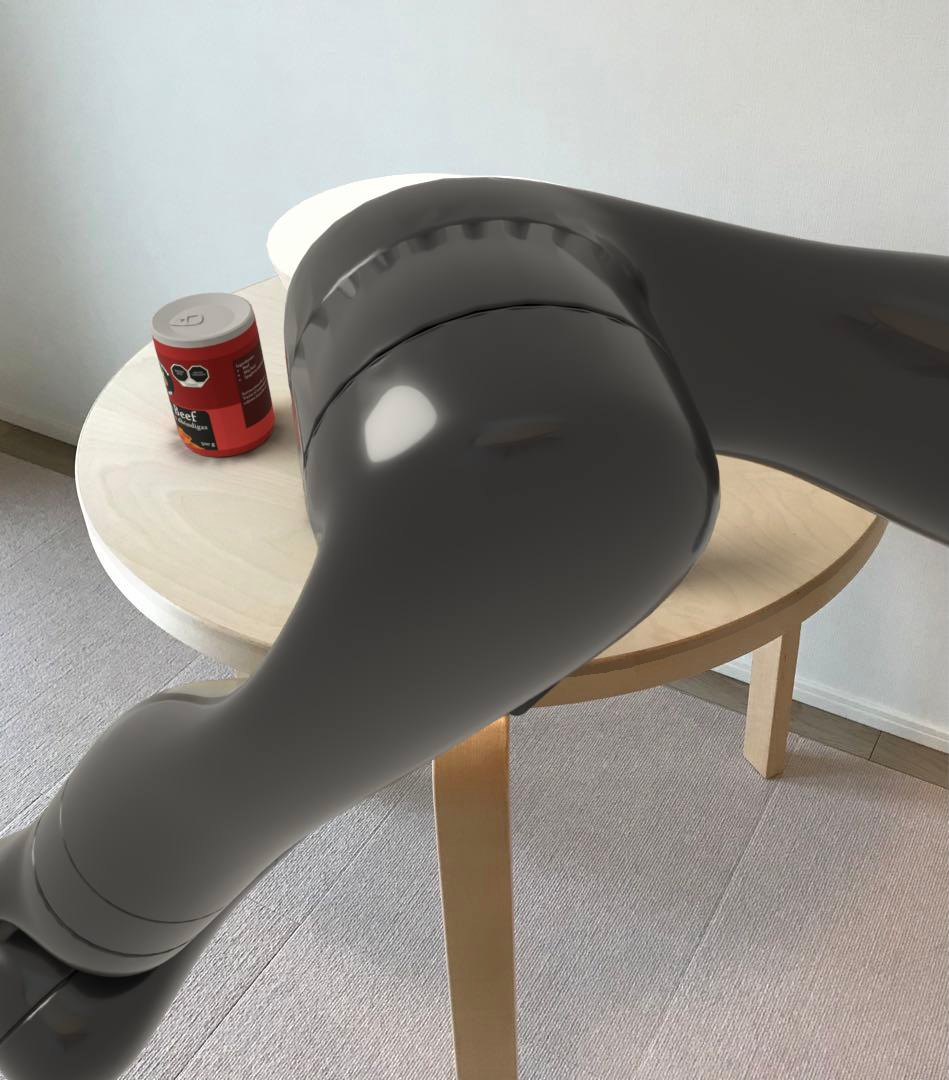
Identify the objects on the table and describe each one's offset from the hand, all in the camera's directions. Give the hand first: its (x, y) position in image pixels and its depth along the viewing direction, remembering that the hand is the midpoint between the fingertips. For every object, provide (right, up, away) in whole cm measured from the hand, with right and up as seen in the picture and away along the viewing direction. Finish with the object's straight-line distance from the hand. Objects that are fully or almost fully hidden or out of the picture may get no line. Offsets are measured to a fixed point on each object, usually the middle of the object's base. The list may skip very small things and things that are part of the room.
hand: (534, 537), depth 62 cm
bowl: (-8, +17, +36) cm, 41 cm away
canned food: (-24, +9, +28) cm, 38 cm away
